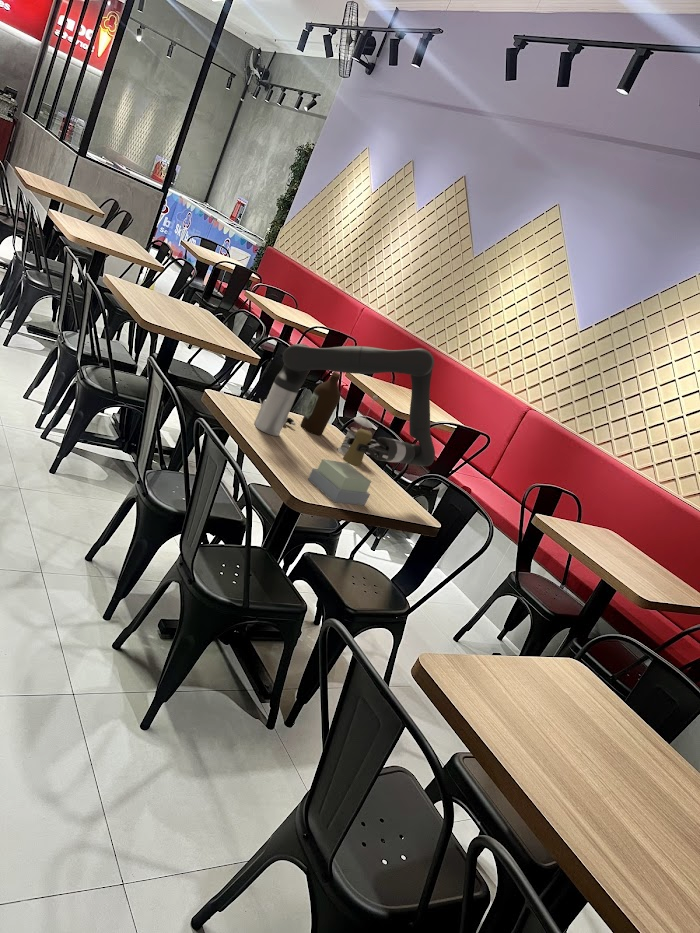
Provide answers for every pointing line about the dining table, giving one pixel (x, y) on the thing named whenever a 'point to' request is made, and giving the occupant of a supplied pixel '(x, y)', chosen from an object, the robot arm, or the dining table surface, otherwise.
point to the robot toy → (286, 418)
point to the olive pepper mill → (352, 454)
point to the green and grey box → (341, 482)
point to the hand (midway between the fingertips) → (353, 444)
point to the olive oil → (322, 405)
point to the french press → (361, 421)
